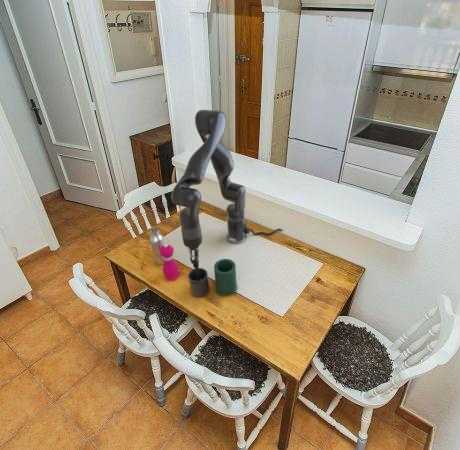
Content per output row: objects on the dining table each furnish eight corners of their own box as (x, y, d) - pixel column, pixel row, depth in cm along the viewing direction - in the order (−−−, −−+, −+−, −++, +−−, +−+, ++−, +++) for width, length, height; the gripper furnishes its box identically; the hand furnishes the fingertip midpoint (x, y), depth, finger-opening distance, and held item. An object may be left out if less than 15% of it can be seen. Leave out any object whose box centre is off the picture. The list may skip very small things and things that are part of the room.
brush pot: (202, 280, 148) (200, 265, 142) (213, 291, 143) (211, 275, 137) (187, 289, 144) (184, 274, 138) (197, 300, 139) (194, 285, 133)
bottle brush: (201, 284, 145) (195, 247, 132) (205, 289, 143) (201, 252, 129) (193, 288, 143) (187, 251, 130) (198, 293, 141) (192, 256, 127)
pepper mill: (182, 272, 153) (176, 240, 141) (175, 283, 147) (168, 250, 135) (169, 269, 155) (162, 237, 143) (161, 279, 149) (153, 247, 137)
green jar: (228, 277, 150) (226, 255, 141) (240, 289, 144) (239, 266, 136) (212, 287, 145) (209, 265, 137) (224, 299, 139) (222, 277, 131)
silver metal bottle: (165, 267, 156) (158, 235, 144) (152, 265, 157) (144, 233, 145) (170, 258, 161) (164, 226, 149) (158, 256, 162) (150, 225, 150)
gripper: (200, 243, 118) (205, 276, 129) (201, 222, 129) (205, 253, 140) (180, 245, 118) (186, 277, 128) (183, 223, 129) (188, 254, 139)
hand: (196, 264), depth 134 cm, fingers closed on bottle brush
